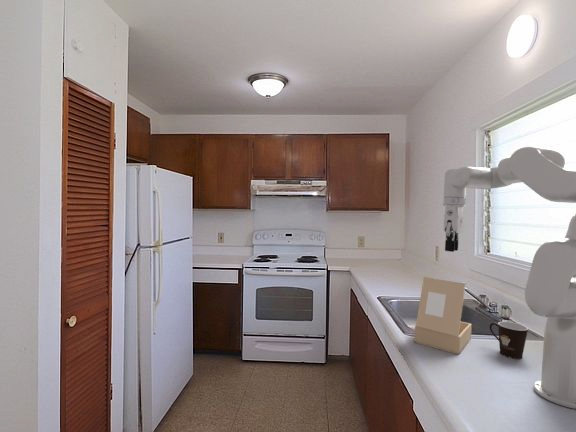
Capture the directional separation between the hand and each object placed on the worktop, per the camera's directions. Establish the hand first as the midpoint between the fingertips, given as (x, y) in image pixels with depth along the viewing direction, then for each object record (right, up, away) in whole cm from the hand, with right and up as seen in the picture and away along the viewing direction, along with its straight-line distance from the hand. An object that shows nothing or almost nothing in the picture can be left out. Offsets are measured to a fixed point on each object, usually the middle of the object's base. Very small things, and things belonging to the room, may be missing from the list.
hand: (451, 250), depth 131 cm
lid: (-8, -19, -8) cm, 22 cm away
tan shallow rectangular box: (-4, -33, -3) cm, 34 cm away
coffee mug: (+14, -35, -11) cm, 39 cm away
